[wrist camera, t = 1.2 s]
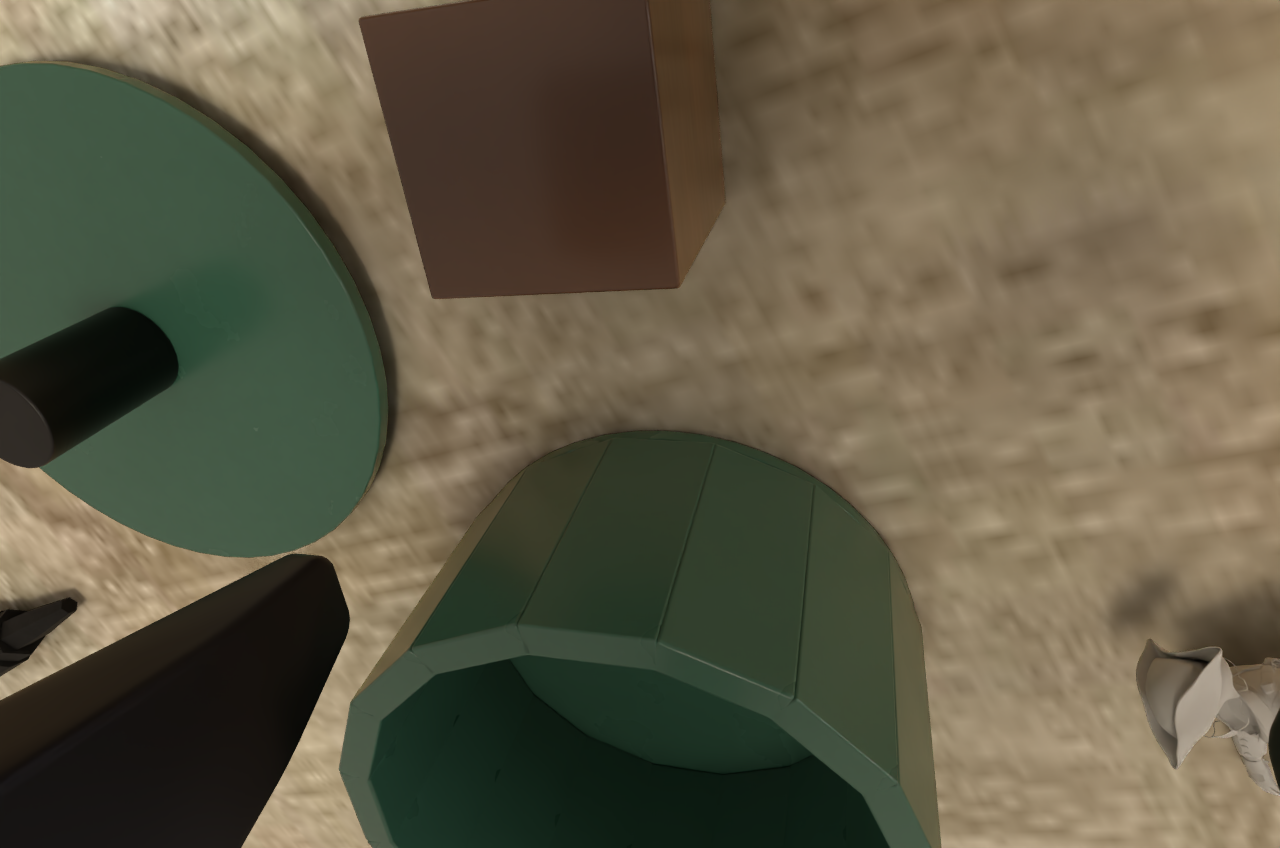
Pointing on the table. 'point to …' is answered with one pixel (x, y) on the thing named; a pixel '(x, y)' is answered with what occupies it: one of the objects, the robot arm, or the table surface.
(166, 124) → the lid
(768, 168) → the table surface
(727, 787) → the tin
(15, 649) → the microphone
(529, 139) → the block
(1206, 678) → the soldier figure
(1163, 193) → the table surface
